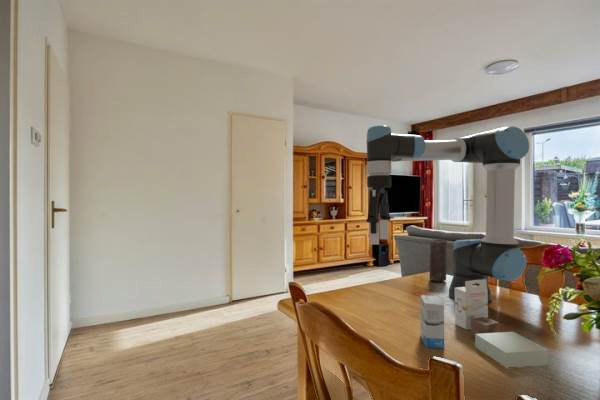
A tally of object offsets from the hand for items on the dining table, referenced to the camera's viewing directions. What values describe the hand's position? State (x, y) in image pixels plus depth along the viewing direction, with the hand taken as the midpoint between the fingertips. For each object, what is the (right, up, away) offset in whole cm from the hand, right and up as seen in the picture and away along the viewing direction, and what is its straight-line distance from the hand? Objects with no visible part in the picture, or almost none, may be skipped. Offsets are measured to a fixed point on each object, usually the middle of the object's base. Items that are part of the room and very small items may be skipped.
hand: (379, 241), depth 106 cm
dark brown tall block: (+40, -26, +51) cm, 70 cm away
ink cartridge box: (+28, -26, -3) cm, 38 cm away
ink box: (+11, -26, -14) cm, 32 cm away
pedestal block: (+27, -26, -23) cm, 44 cm away
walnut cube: (+27, -26, -12) cm, 39 cm away
